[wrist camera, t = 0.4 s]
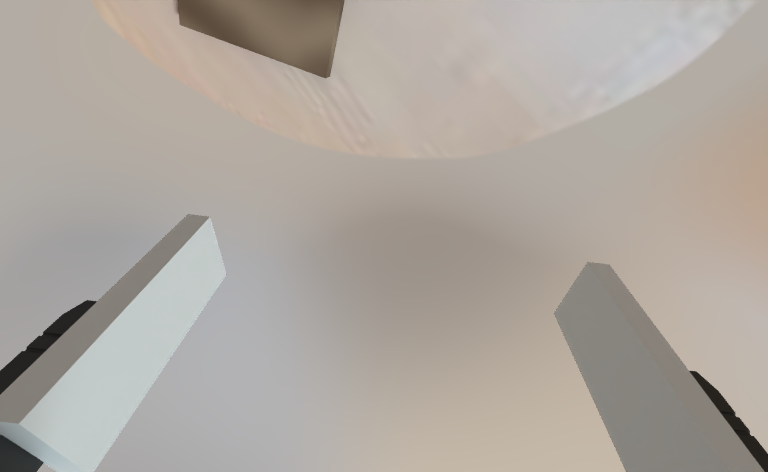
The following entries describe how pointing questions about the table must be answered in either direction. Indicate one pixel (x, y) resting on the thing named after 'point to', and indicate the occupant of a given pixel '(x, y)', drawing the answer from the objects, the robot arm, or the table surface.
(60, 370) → the robot arm
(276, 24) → the brown metal plate
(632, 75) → the table surface
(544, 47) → the table surface
